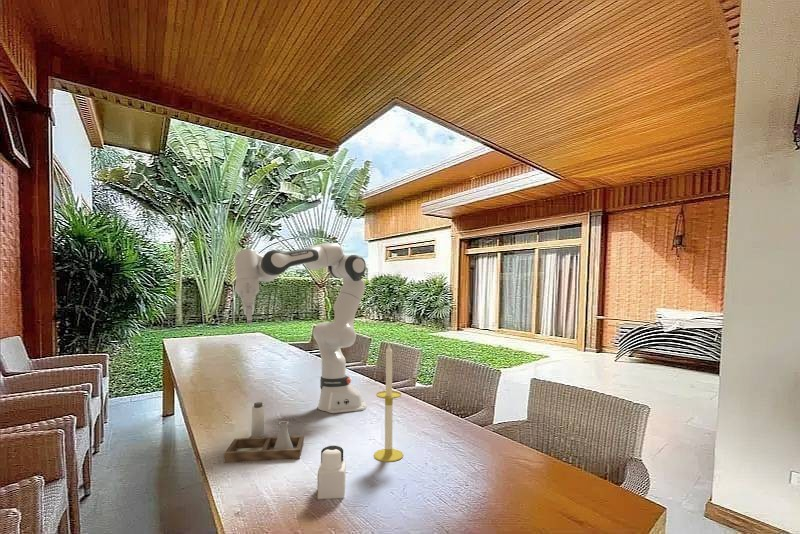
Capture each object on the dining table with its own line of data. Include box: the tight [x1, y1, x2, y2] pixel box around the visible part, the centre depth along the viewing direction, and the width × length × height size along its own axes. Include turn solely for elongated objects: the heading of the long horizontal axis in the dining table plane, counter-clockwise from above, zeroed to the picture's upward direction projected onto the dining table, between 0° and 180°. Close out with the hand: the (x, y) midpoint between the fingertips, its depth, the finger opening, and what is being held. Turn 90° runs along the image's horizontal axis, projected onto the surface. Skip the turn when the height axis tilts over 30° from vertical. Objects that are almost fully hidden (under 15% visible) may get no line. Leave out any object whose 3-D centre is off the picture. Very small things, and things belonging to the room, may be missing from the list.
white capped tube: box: [251, 401, 265, 438], centre depth 154 cm, size 4×4×12 cm
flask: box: [272, 420, 295, 450], centre depth 139 cm, size 7×7×10 cm
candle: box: [373, 344, 404, 463], centre depth 138 cm, size 10×10×38 cm
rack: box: [223, 435, 305, 464], centre depth 138 cm, size 24×12×3 cm, turn 97°
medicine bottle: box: [316, 445, 347, 500], centre depth 113 cm, size 7×7×12 cm
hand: (249, 321), depth 161 cm, fingers open, 8 cm apart
